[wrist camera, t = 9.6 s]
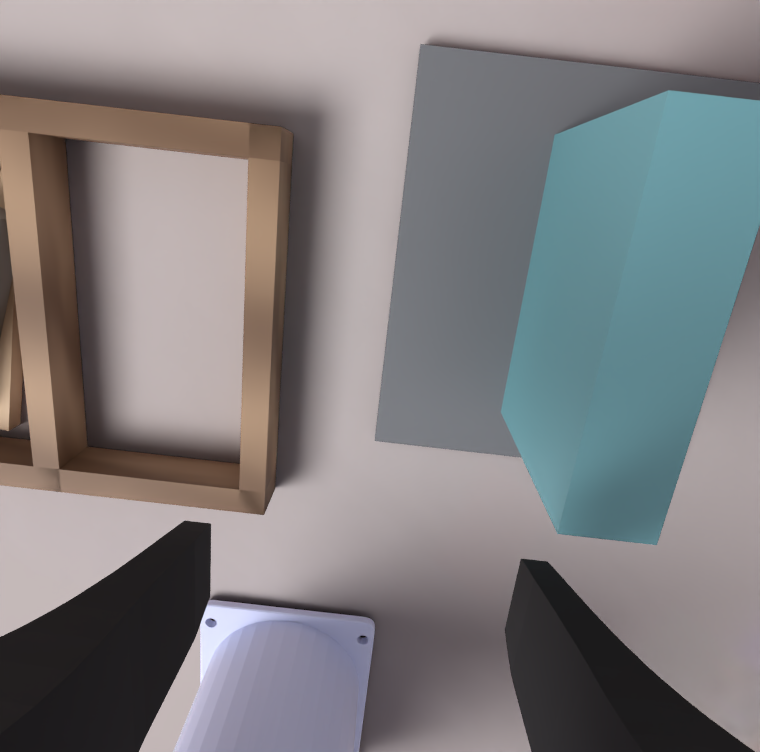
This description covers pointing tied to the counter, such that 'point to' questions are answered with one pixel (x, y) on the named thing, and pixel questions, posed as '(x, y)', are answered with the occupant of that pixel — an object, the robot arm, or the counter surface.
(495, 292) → the mat
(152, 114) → the rack
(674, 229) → the teal rectangular block
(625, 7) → the counter surface
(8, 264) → the offcut top
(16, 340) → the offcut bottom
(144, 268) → the counter surface
